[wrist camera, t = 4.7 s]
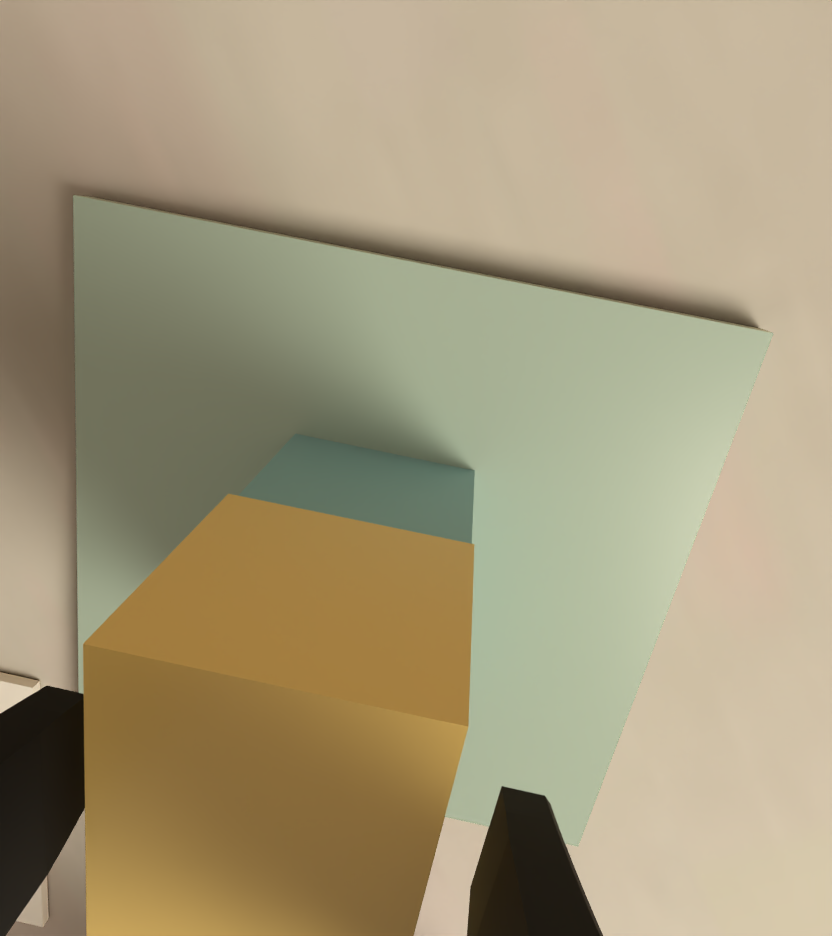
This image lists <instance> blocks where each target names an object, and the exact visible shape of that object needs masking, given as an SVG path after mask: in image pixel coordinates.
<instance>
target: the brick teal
mask: <svg viewBox="0 0 832 936" xmlns="http://www.w3.org/2000/svg"><path fill="white" fill-rule="evenodd" d="M474 477H475V471H474V470H469V469H465V468H460V467H455V466H450V465H445V464H440V463H435V462H431V461H426V460H421V459H416V458H411V457H406V456H402V455H397V454H392V453H387V452H382V451H377V450H372V449H368V448H363V447H358V446H353V445H348V444H343V443H339V442H334V441H329V440H324V439H319V438H314V437H309V436H305V435H300V434H294V436H293V437H292V438H291V439H290V440H289V441H288V442H287V443H286V444H285V445H284V446H283V447H282V449H281V450H280V451H279V452H278V453H277V454H276V455H275V456H274V457H273V458H272V459H271V460H270V462H269V463H268V464H267V465H266V466H265V467H264V468H263V469H262V470H261V471H260V472H259V473H258V475H257V476H256V477H255V478H254V479H253V480H252V481H251V482H250V483H249V484H248V485H247V486H246V488H245V489H244V490H243V491H242V492H241V493H240V494H239V495H238V496H243V497H247V498H252V499H257V500H262V501H267V502H272V503H277V504H281V505H286V506H291V507H296V508H301V509H306V510H311V511H315V512H320V513H325V514H330V515H335V516H340V517H344V518H349V519H354V520H359V521H364V522H369V523H374V524H378V525H383V526H388V527H393V528H398V529H403V530H408V531H412V532H417V533H422V534H427V535H432V536H437V537H442V538H446V539H451V540H456V541H461V542H466V543H471V544H472V525H473V501H474Z"/></svg>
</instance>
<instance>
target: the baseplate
mask: <svg viewBox="0 0 832 936" xmlns="http://www.w3.org/2000/svg"><path fill="white" fill-rule="evenodd" d="M73 235H74V326H75V417H76V508H77V599H78V690H79V693H82V694H84V688H83V643H84V642H85V641H86V640H87V639H88V638H89V637H90V636H91V635H92V634H93V633H94V632H95V631H96V630H97V629H98V628H99V627H100V626H101V625H102V624H103V623H104V622H105V621H106V620H107V619H108V617H109V616H110V615H111V614H112V613H113V612H114V611H115V610H116V609H117V608H118V607H119V606H120V605H121V604H122V603H123V602H124V601H125V600H126V599H127V598H128V597H129V596H130V595H131V594H132V593H133V592H134V591H135V590H136V589H137V588H138V586H139V585H140V584H141V583H142V582H143V581H144V580H145V579H146V578H147V577H148V576H149V575H150V574H151V573H152V572H153V571H154V570H155V569H156V568H157V567H158V566H159V565H160V564H161V563H162V562H163V561H164V560H165V559H166V558H167V557H168V555H169V554H170V553H171V552H172V551H173V550H174V549H175V548H176V547H177V546H178V545H179V544H180V543H181V542H182V541H183V540H184V539H185V538H186V537H187V536H188V535H189V534H190V533H191V532H192V531H193V530H194V529H195V528H196V527H197V526H198V524H199V523H200V522H201V521H202V520H203V519H204V518H205V517H206V516H207V515H208V514H209V513H210V512H211V511H212V510H213V509H214V508H215V507H216V506H217V505H218V504H219V503H220V502H221V501H222V500H223V499H224V498H225V497H226V496H227V494H233V495H239V494H240V493H241V492H242V491H243V490H244V489H245V488H246V486H247V485H248V484H249V483H250V482H251V481H252V480H253V479H254V478H255V477H256V476H257V475H258V473H259V472H260V471H261V470H262V469H263V468H264V467H265V466H266V465H267V464H268V463H269V462H270V460H271V459H272V458H273V457H274V456H275V455H276V454H277V453H278V452H279V451H280V450H281V449H282V447H283V446H284V445H285V444H286V443H287V442H288V441H289V440H290V439H291V438H292V437H293V436H294V434H300V435H305V436H309V437H314V438H319V439H324V440H329V441H334V442H339V443H343V444H348V445H353V446H358V447H363V448H368V449H372V450H377V451H382V452H387V453H392V454H397V455H402V456H406V457H411V458H416V459H421V460H426V461H431V462H435V463H440V464H445V465H450V466H455V467H460V468H465V469H469V470H474V471H475V477H474V501H473V525H472V544H474V574H473V604H472V635H471V665H470V696H469V727H468V731H467V734H466V738H465V742H464V746H463V749H462V753H461V757H460V761H459V765H458V768H457V772H456V776H455V780H454V784H453V787H452V791H451V795H450V799H449V803H448V806H447V810H446V814H445V817H448V818H452V819H457V820H461V821H466V822H470V823H475V824H479V825H484V826H488V827H489V826H490V822H491V819H492V816H493V813H494V809H495V806H496V803H497V800H498V796H499V793H500V790H501V786H504V787H508V788H513V789H517V790H522V791H526V792H531V793H535V794H540V795H545V796H546V798H547V799H548V801H549V802H550V804H551V807H552V809H553V812H554V815H555V818H556V821H557V823H558V826H559V829H560V832H561V834H562V837H563V840H564V842H565V844H569V845H574V846H579V843H580V840H581V838H582V835H583V832H584V830H585V827H586V825H587V822H588V819H589V817H590V814H591V811H592V809H593V806H594V804H595V801H596V798H597V796H598V793H599V790H600V788H601V785H602V783H603V780H604V777H605V775H606V772H607V769H608V767H609V764H610V762H611V759H612V756H613V754H614V751H615V748H616V746H617V743H618V741H619V738H620V735H621V733H622V730H623V727H624V725H625V722H626V719H627V717H628V714H629V712H630V709H631V706H632V704H633V701H634V698H635V696H636V693H637V691H638V688H639V685H640V683H641V680H642V677H643V675H644V672H645V670H646V667H647V664H648V662H649V659H650V656H651V654H652V651H653V649H654V646H655V643H656V641H657V638H658V635H659V633H660V630H661V628H662V625H663V622H664V620H665V617H666V614H667V612H668V609H669V607H670V604H671V601H672V599H673V596H674V593H675V591H676V588H677V586H678V583H679V580H680V578H681V575H682V572H683V570H684V567H685V565H686V562H687V559H688V557H689V554H690V551H691V549H692V546H693V544H694V541H695V538H696V536H697V533H698V530H699V528H700V525H701V523H702V520H703V517H704V515H705V512H706V509H707V507H708V504H709V502H710V499H711V496H712V494H713V491H714V488H715V486H716V483H717V481H718V478H719V475H720V473H721V470H722V467H723V465H724V462H725V460H726V457H727V454H728V452H729V449H730V446H731V444H732V441H733V438H734V436H735V433H736V431H737V428H738V425H739V423H740V420H741V417H742V415H743V412H744V410H745V407H746V404H747V402H748V399H749V396H750V394H751V391H752V389H753V386H754V383H755V381H756V378H757V375H758V373H759V370H760V368H761V365H762V362H763V360H764V357H765V354H766V352H767V349H768V347H769V344H770V341H771V339H772V336H773V333H772V332H769V331H766V330H764V329H760V328H755V327H750V326H745V325H740V324H735V323H730V322H725V321H720V320H715V319H710V318H705V317H700V316H694V315H689V314H684V313H679V312H674V311H669V310H664V309H659V308H654V307H649V306H644V305H639V304H634V303H629V302H623V301H618V300H613V299H608V298H603V297H598V296H593V295H588V294H583V293H578V292H573V291H568V290H563V289H558V288H552V287H547V286H542V285H537V284H532V283H527V282H522V281H517V280H512V279H507V278H502V277H497V276H492V275H487V274H481V273H476V272H471V271H466V270H461V269H456V268H451V267H446V266H441V265H436V264H431V263H426V262H421V261H416V260H410V259H405V258H400V257H395V256H390V255H385V254H380V253H375V252H370V251H365V250H360V249H355V248H350V247H345V246H340V245H334V244H329V243H324V242H319V241H314V240H309V239H304V238H299V237H294V236H289V235H284V234H279V233H274V232H269V231H263V230H258V229H253V228H248V227H243V226H238V225H233V224H228V223H223V222H218V221H213V220H208V219H203V218H198V217H192V216H187V215H182V214H177V213H172V212H167V211H162V210H157V209H152V208H147V207H142V206H137V205H132V204H127V203H121V202H116V201H111V200H106V199H101V198H96V197H91V196H80V195H73Z"/></svg>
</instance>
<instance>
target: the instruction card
mask: <svg viewBox="0 0 832 936" xmlns="http://www.w3.org/2000/svg"><path fill="white" fill-rule="evenodd" d="M38 690H40V681H38V680H33V679H29V678H24V677H20V676H15V675H11V674H6V673H2V672H0V713H2V712H3V711H5V710H7V709H8V708H10V707H12V706H13V705H15V704H17V703H18V702H20V701H22V700H23V699H25V698H27V697H28V696H30V695H32V694H33V693H35V692H37V691H38ZM48 919H49V913H48V887H47V876H46V878H45V879H44V881H43V882H42V884H41V885H40V887H39V888H38V889H37V891H36V892H35V894H34V895H33V897H32V898H31V900H30V901H29V903H28V904H27V905H26V907H25V908H24V910H23V911H22V913H21V914H20V915H19V917H18V918H17V920H16V921H18V922H22V923H26V924H30V925H35V926H39V927H44V925H45V923H46V922H47V920H48Z"/></svg>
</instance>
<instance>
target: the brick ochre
mask: <svg viewBox="0 0 832 936" xmlns="http://www.w3.org/2000/svg"><path fill="white" fill-rule="evenodd" d="M473 574H474V544H471V543H466V542H461V541H456V540H451V539H446V538H442V537H437V536H432V535H427V534H422V533H417V532H412V531H408V530H403V529H398V528H393V527H388V526H383V525H378V524H374V523H369V522H364V521H359V520H354V519H349V518H344V517H340V516H335V515H330V514H325V513H320V512H315V511H311V510H306V509H301V508H296V507H291V506H286V505H281V504H277V503H272V502H267V501H262V500H257V499H252V498H247V497H243V496H238V495H233V494H227V496H226V497H225V498H224V499H223V500H222V501H221V502H220V503H219V504H218V505H217V506H216V507H215V508H214V509H213V510H212V511H211V512H210V513H209V514H208V515H207V516H206V517H205V518H204V519H203V520H202V521H201V522H200V523H199V524H198V526H197V527H196V528H195V529H194V530H193V531H192V532H191V533H190V534H189V535H188V536H187V537H186V538H185V539H184V540H183V541H182V542H181V543H180V544H179V545H178V546H177V547H176V548H175V549H174V550H173V551H172V552H171V553H170V554H169V555H168V557H167V558H166V559H165V560H164V561H163V562H162V563H161V564H160V565H159V566H158V567H157V568H156V569H155V570H154V571H153V572H152V573H151V574H150V575H149V576H148V577H147V578H146V579H145V580H144V581H143V582H142V583H141V584H140V585H139V586H138V588H137V589H136V590H135V591H134V592H133V593H132V594H131V595H130V596H129V597H128V598H127V599H126V600H125V601H124V602H123V603H122V604H121V605H120V606H119V607H118V608H117V609H116V610H115V611H114V612H113V613H112V614H111V615H110V616H109V617H108V619H107V620H106V621H105V622H104V623H103V624H102V625H101V626H100V627H99V628H98V629H97V630H96V631H95V632H94V633H93V634H92V635H91V636H90V637H89V638H88V639H87V640H86V641H85V642H84V643H83V688H84V769H85V851H86V932H87V936H413V935H414V931H415V928H416V924H417V920H418V916H419V912H420V909H421V905H422V901H423V897H424V893H425V890H426V886H427V882H428V878H429V875H430V871H431V867H432V863H433V859H434V856H435V852H436V848H437V844H438V840H439V837H440V833H441V829H442V825H443V821H444V818H445V814H446V810H447V806H448V803H449V799H450V795H451V791H452V787H453V784H454V780H455V776H456V772H457V768H458V765H459V761H460V757H461V753H462V749H463V746H464V742H465V738H466V734H467V731H468V727H469V696H470V665H471V635H472V604H473Z"/></svg>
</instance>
